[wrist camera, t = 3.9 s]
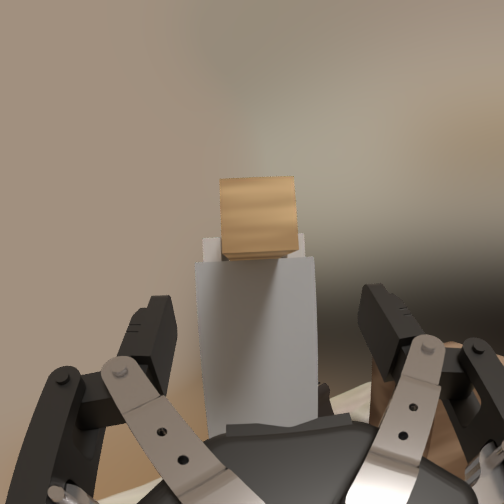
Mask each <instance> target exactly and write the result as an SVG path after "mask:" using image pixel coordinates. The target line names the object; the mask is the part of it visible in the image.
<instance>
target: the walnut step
mask: <svg viewBox="0 0 504 504" xmlns="http://www.w3.org/2000/svg"><path fill="white" fill-rule="evenodd" d="M443 344H444V346H445V347H450V348H462V346H463V345H462V344H459V343H455V342H452V341H451V342H447V343H443ZM497 357H498V358H499V360H500V361H501V363H502V364H503V366H504V357H502V356H499V355H497ZM395 385H396V384H395V381H390V382H385V383H384V381H383V378H382V376H381V374H380V372H379V369H378V367H377V365H376V363H375V361H374V358H373V357H372V383H371V402H370V417H369V424H371V425H373V426H376V427H378V426H379V423H380V421H381V419H382V417H383V414H384V412H385V410H386V407H387V405H388V403H389V400H390V398H391V395H392V393H393V390H394V388H395ZM473 392H474V394H475V396H476V397H477V399H478V401H479V403H480V405H481V399H480V396H479V395H478V393H477V391H476V389H475V388H474V389H473ZM422 456H424V457H425V458H427V459H429V460H430V461H432V462H433V463H435V464H437V465H438V466H440V467H442V468H443V469H445V470H447V471H448V472H450V473H452V474H454V475H455V476H457V477H459V478H461V479H462V480H465V469H466V466H467V465H468V463H467V460H466V458H465V455H464V453H463V450H462V448H461V445H460V443H459V440H458V438H457V435H456V433H455V430H454V428H453V426H452V423H451V421H450V419H449V416H448V414H447V412H446V410H445V407H444V405H443V403H442V401H441V399H439V400H438V404H437V408H436V412H435V415H434V419H433V423H432V426H431V430H430V433H429V436H428V439H427V443H426V446H425V449H424V452H423V455H422Z"/></svg>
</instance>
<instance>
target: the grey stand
mask: <svg viewBox="0 0 504 504" xmlns="http://www.w3.org/2000/svg"><path fill="white" fill-rule="evenodd" d="M298 241H299V250H297V251H295V252H293V253H290V254H288V255H286V256H283V257H281V258H278V259H259V260H239V261H229V259H228V258H227V257H226V256H224V255H223V254H222V239H221V238H220V237H218V238H203V258H204V262H198V263H195V277H196V298H197V314H198V329H199V342H200V355H201V366H202V378H203V388H204V398H205V408H206V417H207V426H208V433H209V439H210V438H212V437H214V436H217V435H220V434H223V433H226V424H250V423H260V424H267V425H274V426H282V427H293V426H296V425H299V424H302V423H305V422H308V421H311V420H313V419H316V418H318V349H317V348H318V346H317V312H316V286H315V270H314V269H315V267H314V257H305V246H304V234H303V233H302V234H298Z"/></svg>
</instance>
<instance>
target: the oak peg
mask: <svg viewBox="0 0 504 504" xmlns="http://www.w3.org/2000/svg"><path fill="white" fill-rule="evenodd" d="M220 209H221V235H222V254H223V255H224V256H226V257H227V258H228V259H229V260H230V261H239V260H259V259H278V258H281V257H283V256H286V255H288V254H290V253H293V252H295V251H297V250H299V241H298V228H297V227H298V226H297V212H296V199H295V186H294V176H280V177H279V176H278V177H249V178H231V179H230V178H229V179H220Z"/></svg>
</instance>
